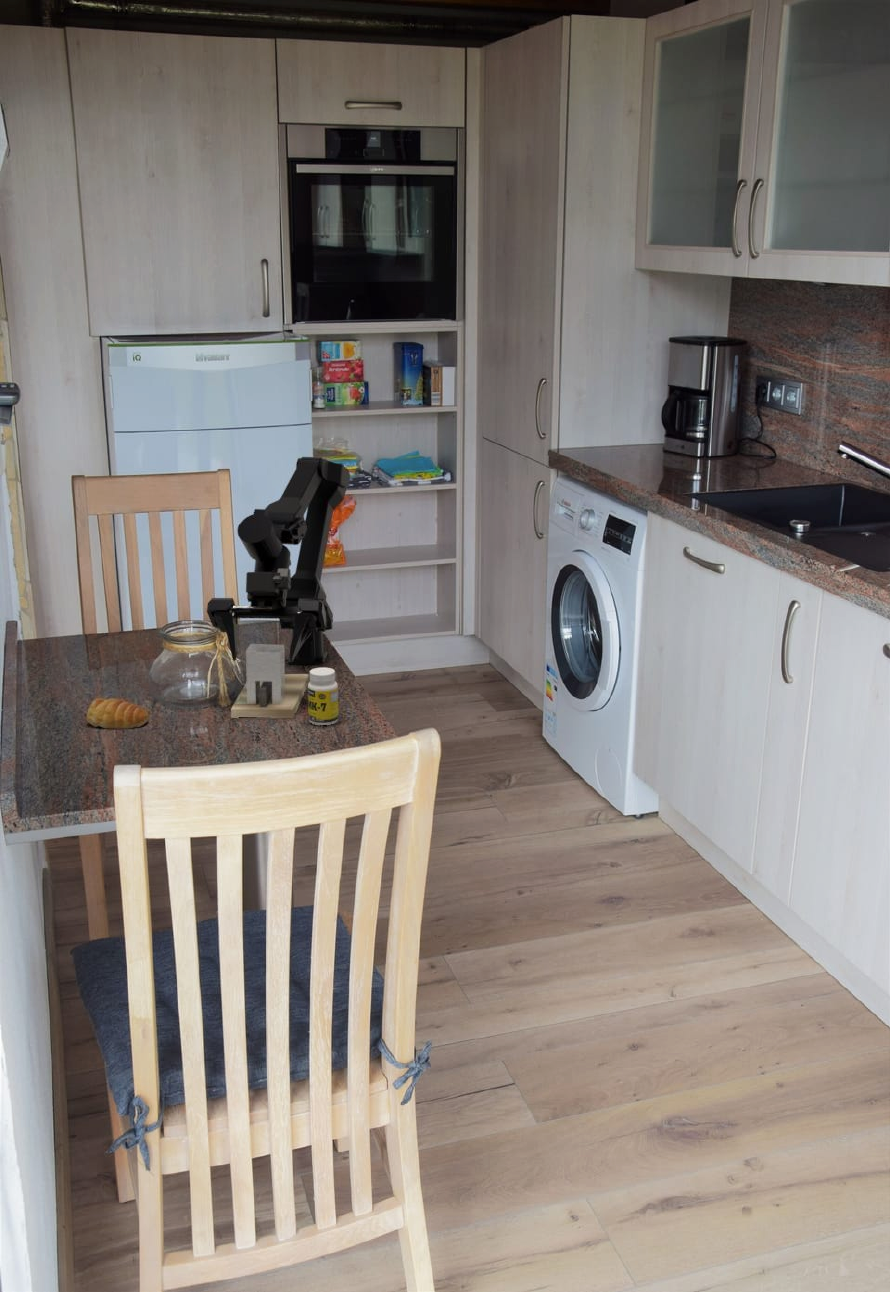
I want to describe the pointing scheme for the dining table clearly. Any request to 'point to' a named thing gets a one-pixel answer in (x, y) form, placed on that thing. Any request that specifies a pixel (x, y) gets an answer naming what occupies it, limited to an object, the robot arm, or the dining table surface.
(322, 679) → the supplement bottle
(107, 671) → the dining table surface
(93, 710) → the pastry
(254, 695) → the clip
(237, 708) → the rack
